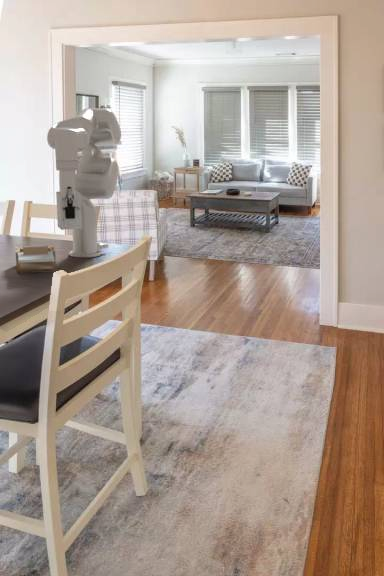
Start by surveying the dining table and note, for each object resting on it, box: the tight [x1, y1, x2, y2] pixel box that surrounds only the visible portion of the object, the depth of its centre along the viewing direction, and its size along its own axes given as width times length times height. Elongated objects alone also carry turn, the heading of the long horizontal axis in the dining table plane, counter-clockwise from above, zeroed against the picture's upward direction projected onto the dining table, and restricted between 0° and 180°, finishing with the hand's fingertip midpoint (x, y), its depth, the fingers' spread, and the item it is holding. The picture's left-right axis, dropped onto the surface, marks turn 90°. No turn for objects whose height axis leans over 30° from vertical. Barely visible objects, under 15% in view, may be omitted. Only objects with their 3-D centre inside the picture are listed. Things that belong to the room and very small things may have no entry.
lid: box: [18, 245, 55, 263], centre depth 190 cm, size 13×11×3 cm
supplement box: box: [55, 191, 82, 231], centre depth 202 cm, size 7×7×13 cm
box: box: [15, 244, 57, 274], centre depth 203 cm, size 13×13×7 cm
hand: (69, 216), depth 203 cm, fingers closed on supplement box, 7 cm apart
